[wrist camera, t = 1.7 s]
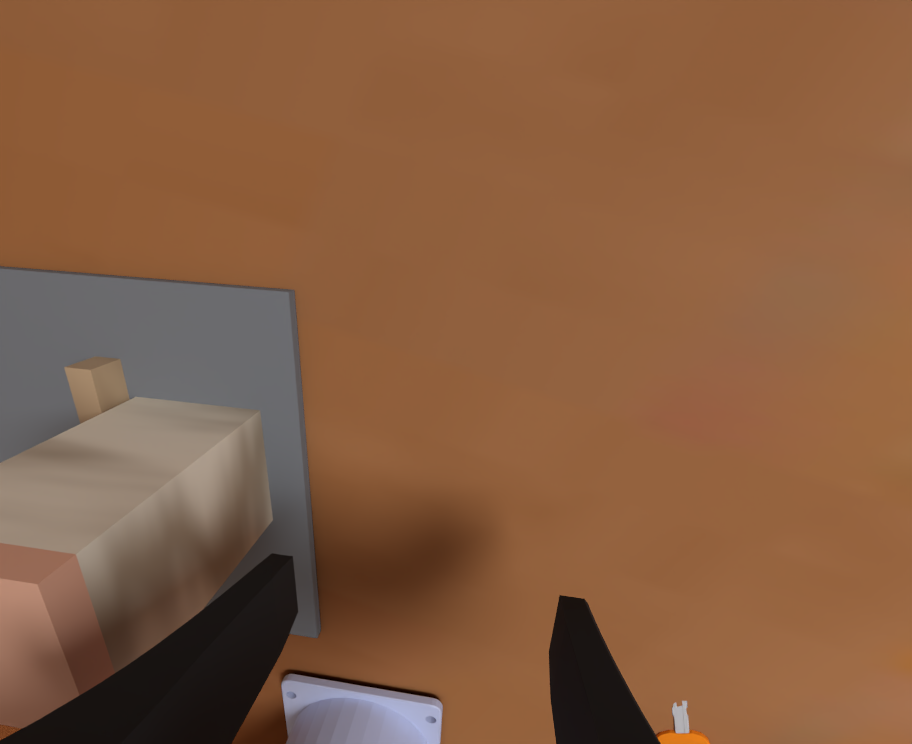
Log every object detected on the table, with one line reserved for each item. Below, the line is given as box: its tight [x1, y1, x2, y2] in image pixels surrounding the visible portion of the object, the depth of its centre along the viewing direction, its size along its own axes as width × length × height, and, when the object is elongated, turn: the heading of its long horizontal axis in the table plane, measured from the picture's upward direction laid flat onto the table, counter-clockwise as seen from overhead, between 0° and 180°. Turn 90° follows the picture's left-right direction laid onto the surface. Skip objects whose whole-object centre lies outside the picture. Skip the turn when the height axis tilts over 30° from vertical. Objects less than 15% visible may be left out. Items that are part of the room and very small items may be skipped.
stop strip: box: [64, 356, 130, 424], centre depth 17 cm, size 8×1×1 cm, turn 177°
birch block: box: [0, 397, 273, 729], centre depth 13 cm, size 5×5×8 cm
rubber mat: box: [0, 266, 321, 638], centre depth 18 cm, size 16×16×1 cm
